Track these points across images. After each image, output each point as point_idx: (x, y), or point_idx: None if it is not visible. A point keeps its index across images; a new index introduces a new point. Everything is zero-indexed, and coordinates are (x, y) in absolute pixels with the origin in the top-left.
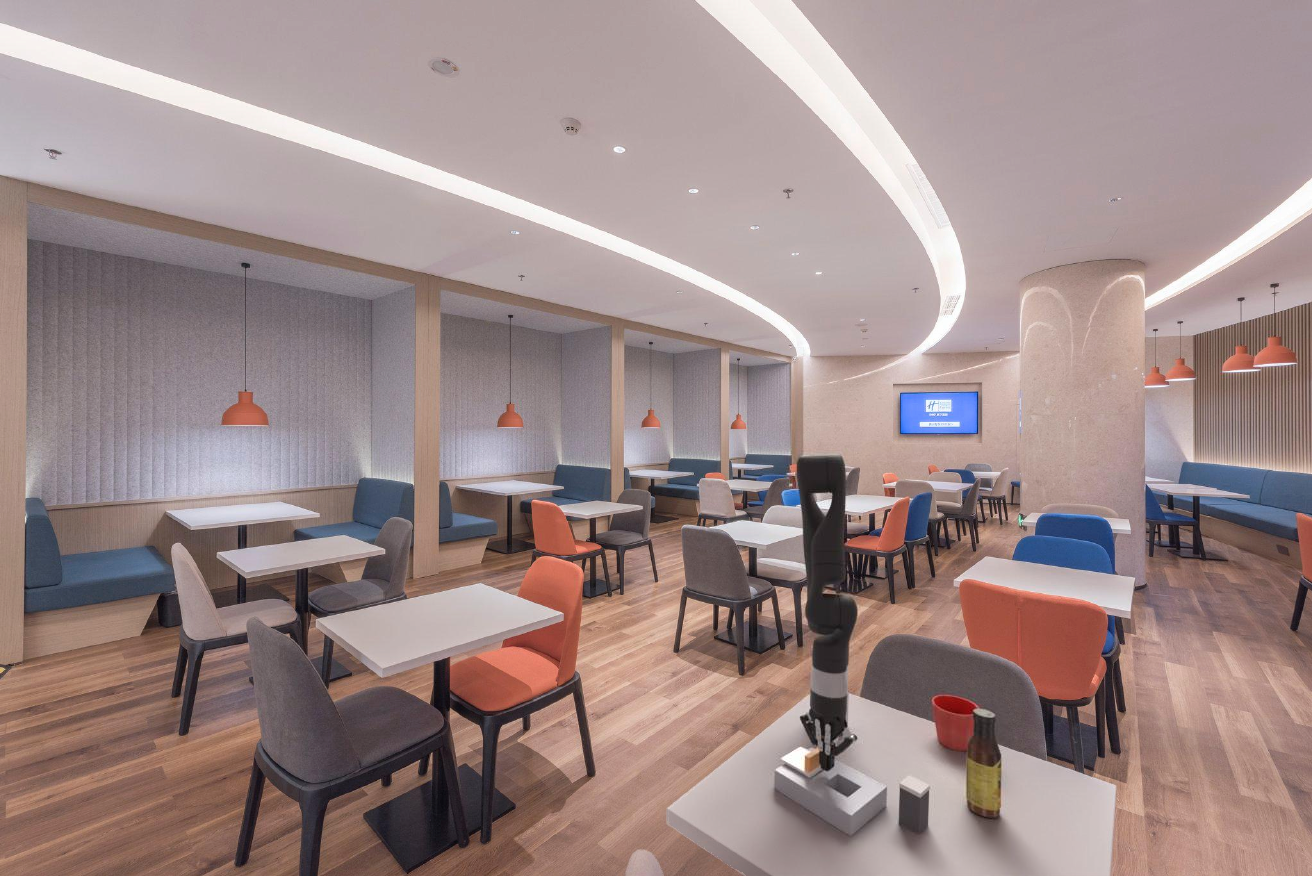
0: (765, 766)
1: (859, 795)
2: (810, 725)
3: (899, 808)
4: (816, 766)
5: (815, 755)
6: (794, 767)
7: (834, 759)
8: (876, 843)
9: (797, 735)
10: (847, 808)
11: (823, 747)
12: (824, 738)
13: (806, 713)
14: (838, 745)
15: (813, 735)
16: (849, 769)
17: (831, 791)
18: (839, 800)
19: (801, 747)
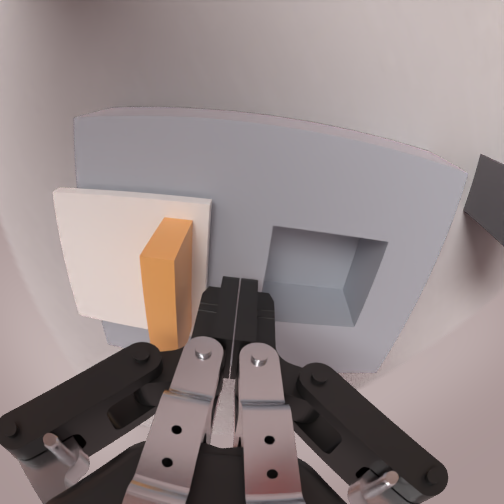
0: (47, 239)
1: (388, 294)
2: (87, 442)
3: (488, 230)
4: (190, 287)
5: (178, 337)
6: (136, 323)
7: (274, 325)
8: (417, 312)
9: (9, 14)
10: (363, 361)
11: (218, 399)
12: (209, 436)
13: (14, 456)
14: (324, 460)
15: (138, 422)
16: (304, 150)
17: (297, 333)
18: (334, 351)
19: (58, 196)
